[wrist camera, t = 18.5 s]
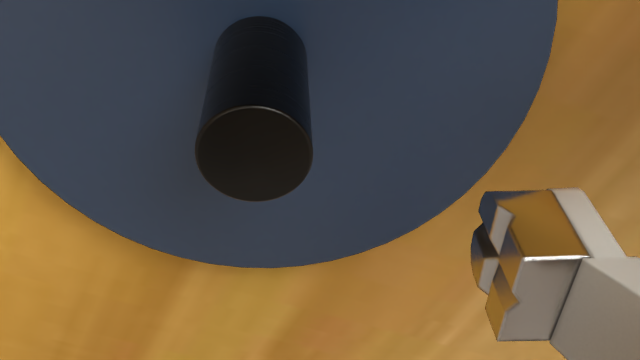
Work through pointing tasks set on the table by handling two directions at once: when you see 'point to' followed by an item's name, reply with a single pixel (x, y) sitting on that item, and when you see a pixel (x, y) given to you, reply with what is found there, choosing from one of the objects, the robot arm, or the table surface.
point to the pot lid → (266, 115)
